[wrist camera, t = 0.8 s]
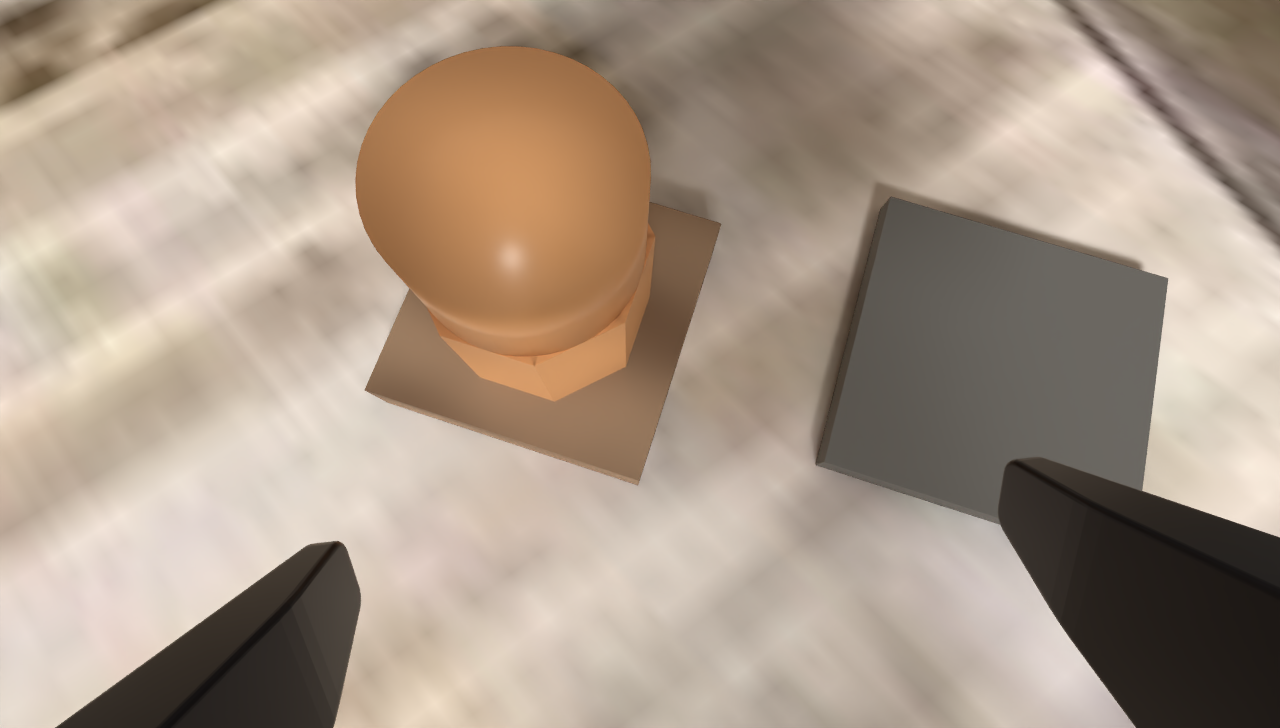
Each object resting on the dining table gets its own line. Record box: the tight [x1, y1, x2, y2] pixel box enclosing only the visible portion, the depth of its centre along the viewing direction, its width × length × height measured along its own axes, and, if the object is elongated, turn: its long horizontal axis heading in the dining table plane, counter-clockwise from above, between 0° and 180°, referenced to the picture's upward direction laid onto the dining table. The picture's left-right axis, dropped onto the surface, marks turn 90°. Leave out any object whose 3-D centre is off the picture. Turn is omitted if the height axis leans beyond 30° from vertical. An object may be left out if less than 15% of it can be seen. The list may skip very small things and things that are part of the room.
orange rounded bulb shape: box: [356, 46, 655, 402], centre depth 17 cm, size 6×6×8 cm
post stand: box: [365, 202, 721, 485], centre depth 20 cm, size 9×9×6 cm
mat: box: [816, 197, 1168, 524], centre depth 22 cm, size 10×10×1 cm
